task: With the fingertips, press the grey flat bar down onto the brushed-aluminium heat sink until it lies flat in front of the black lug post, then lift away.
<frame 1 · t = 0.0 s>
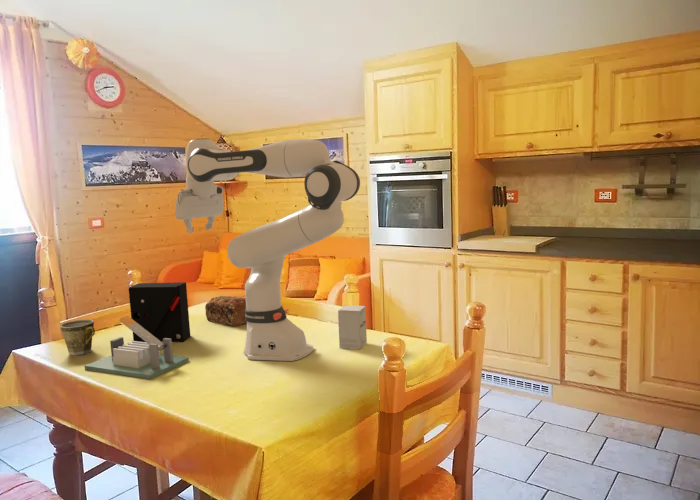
hand: (199, 230, 178), 39 cm above the table, tool pointing down, fingers open, 8 cm apart
grey flat bar: (142, 333, 161), point 10 cm above the table, hinge at 30.0°
ceramic cup: (83, 353, 179), on the table
supplement box: (353, 346, 175), on the table
bread: (229, 322, 213), on the table
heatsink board: (137, 365, 164), on the table
electrical component: (163, 340, 191), on the table
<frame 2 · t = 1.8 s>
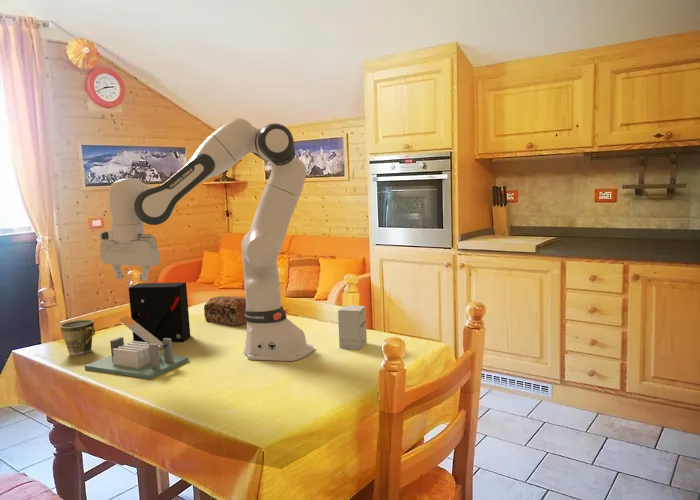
hand: (132, 279, 161), 27 cm above the table, tool pointing down, fingers open, 8 cm apart
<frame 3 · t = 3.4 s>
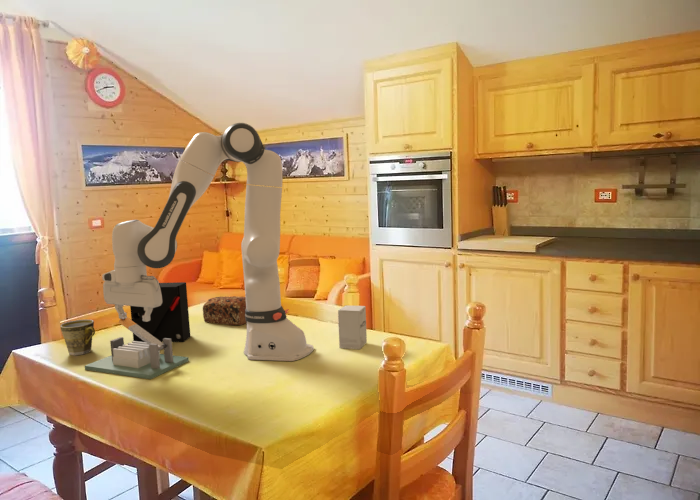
hand: (134, 319, 162), 14 cm above the table, tool pointing down, fingers open, 8 cm apart
grey flat bar: (142, 334, 162), point 10 cm above the table, hinge at 28.0°, touching gripper
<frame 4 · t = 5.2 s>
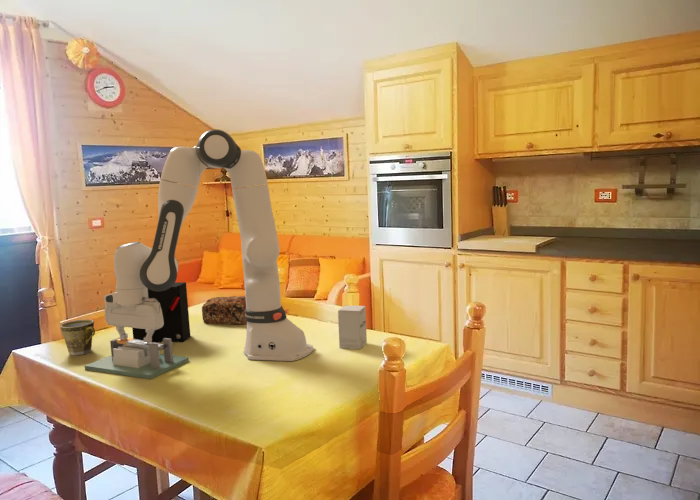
hand: (135, 341, 163), 8 cm above the table, tool pointing down, fingers open, 8 cm apart
grey flat bar: (141, 343, 162), point 7 cm above the table, hinge at 3.5°, touching gripper
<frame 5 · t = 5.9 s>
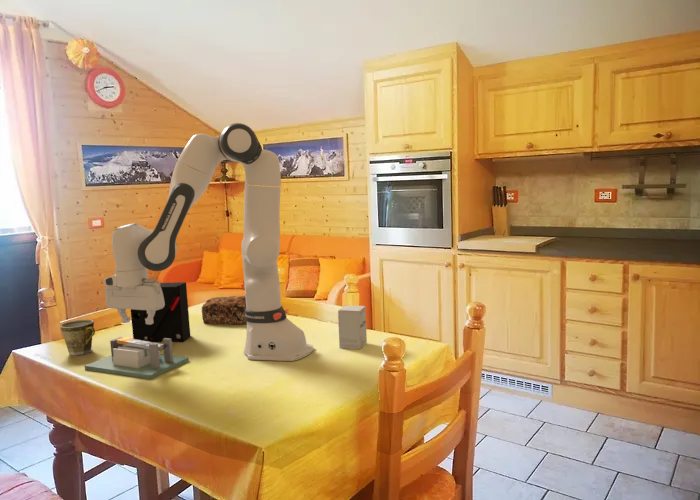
hand: (137, 323, 162), 13 cm above the table, tool pointing down, fingers open, 8 cm apart
grey flat bar: (141, 343, 162), point 7 cm above the table, hinge at 3.4°
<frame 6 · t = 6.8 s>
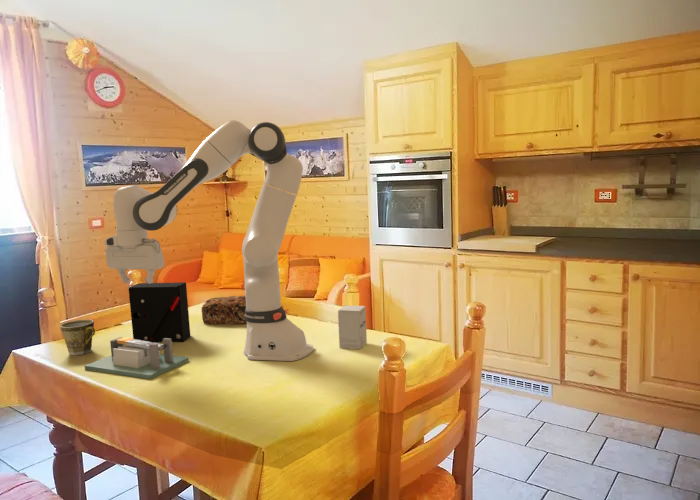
hand: (137, 282, 167), 24 cm above the table, tool pointing down, fingers open, 8 cm apart
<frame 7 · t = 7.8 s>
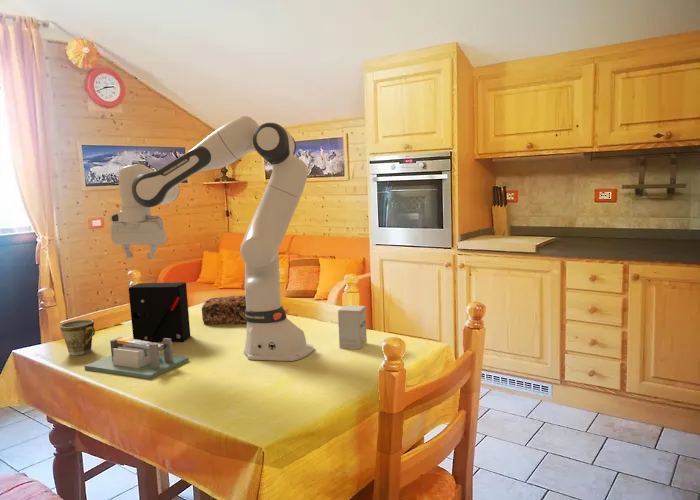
hand: (140, 258, 174), 31 cm above the table, tool pointing down, fingers open, 8 cm apart
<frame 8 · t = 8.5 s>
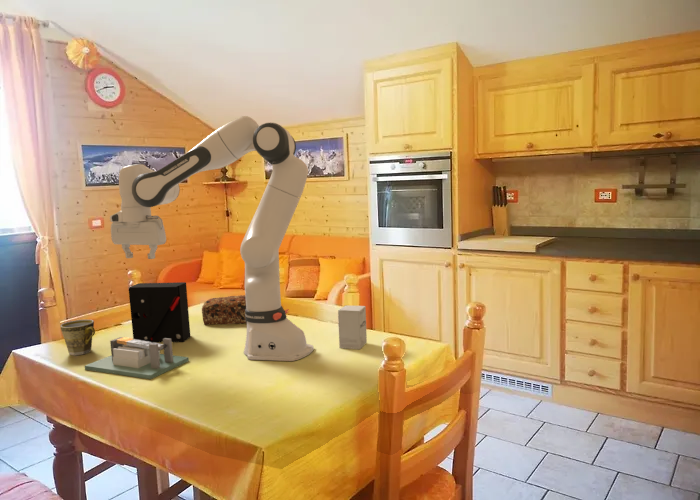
hand: (140, 258, 174), 31 cm above the table, tool pointing down, fingers open, 8 cm apart
at the end: grey flat bar at +3° (first picture: +30°); the gripper is holding nothing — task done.
